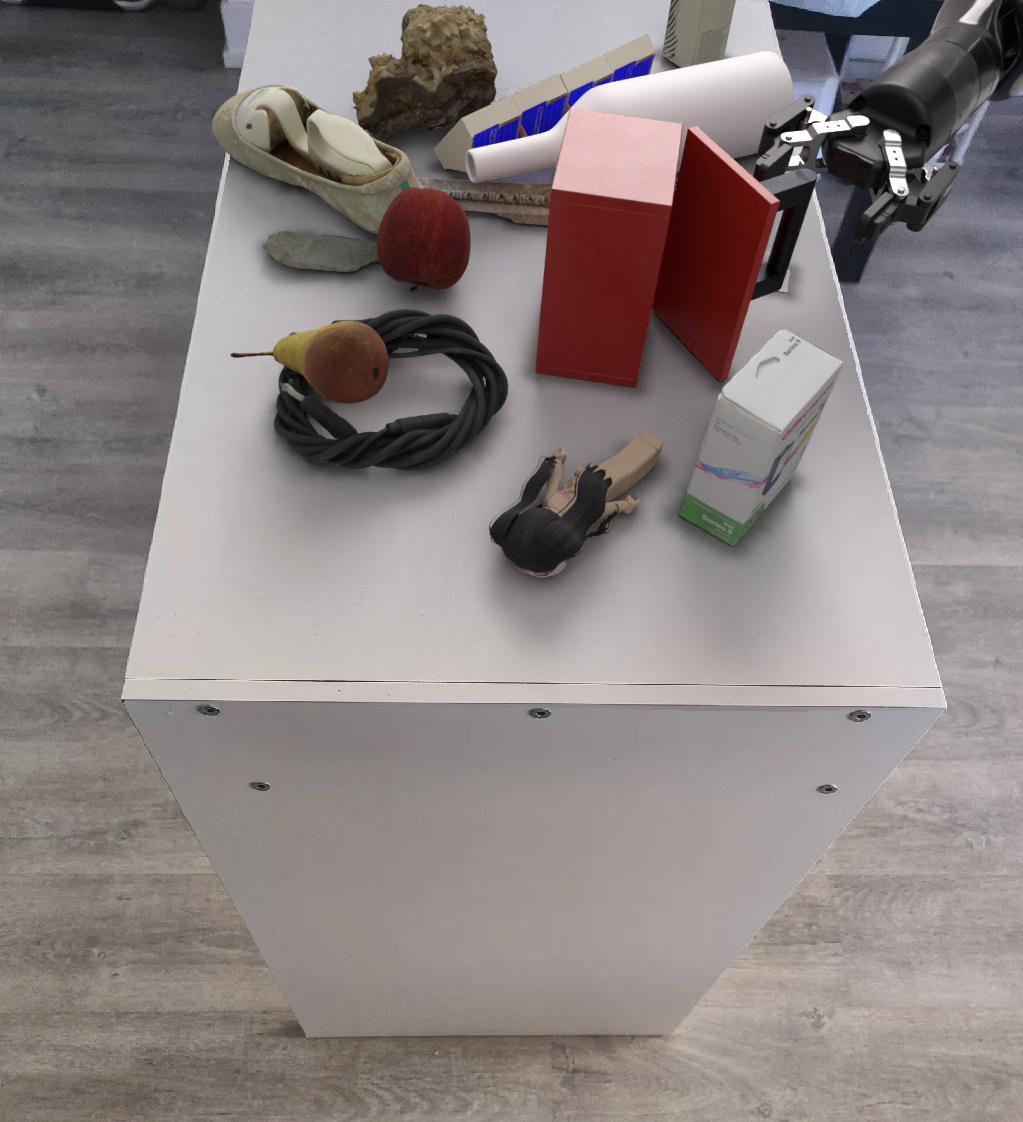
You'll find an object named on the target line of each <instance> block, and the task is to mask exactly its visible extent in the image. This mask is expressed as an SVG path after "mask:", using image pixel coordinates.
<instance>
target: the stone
mask: <svg viewBox="0 0 1023 1122" xmlns="http://www.w3.org/2000/svg"><path fill="white" fill-rule="evenodd" d="M262 249H264V251H266V252H267V253H268V254H269V255H271V257H272V258H273V259H274V260H275V261H276V262H278V263H280V264H283V265H286V266H287V267H290V268H295V269H300V270H320V271H326V272H339V273H350V272H358V271H359V270H360V269H361V268H362V267H366V266H368V265H370V264H373V263H380V262H379V259H378V253H377V240H376V241H375V240H372V239H368V238H358V237H350V236H343V235H336V234H335V235H334V234H312V233H311V234H310V233H299V232H295V231H289V230H283V231H278V233H277V232H274V233H272V234H269V235H268V238H267V241H265V242H264V243H263V244H262Z"/></svg>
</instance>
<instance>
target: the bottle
mask: <svg viewBox="0 0 1023 1122" xmlns="http://www.w3.org/2000/svg"><path fill="white" fill-rule="evenodd" d="M794 101H795V90H794V84H793V79H792V77H791V73H790V70H789V69H788V66H787V64H786V63H785V61H784V60H783V59H782V57H780V56H779V55H778V54H777V53H775V52H774V51H767V50H764V51H758V52H754V53H748V54H743V55H739V56H734V57H733V56H732V57H729V58H723V59H721V60H718V61H714V62H709V63H704V64H699V65H694V66H689V67H684V68H681V67H679V68H675V69H670V70H665V71H660V72H656V73H650V75H645V76H641V77H636V78H631V79H626V80H621V81H616V82H611V83H607V84H603V85H600V86H597V87H594V88H592V89H590V90H588V91H587V92H586V93H585V94H584V95H583V96H582V97H581V98H580V99H579V100H578V101H577V102H576V103H575V104H574V105H573V106H572V107H571V108H575V109H582V110H589V111H596V112H603V113H610V114H617V115H625V116H632V117H639V118H646V119H653V120H660V121H668V122H675V123H682V124H683V129H682V136H681V144H680V152H679V159H678V167H677V173H679V170H680V165H681V160H682V155H683V150H684V145H685V140H686V135H687V130H688V128H691V127H694V126H697V127H699V128H700V129H701V130H702V131H703V132H704V133H705V134H706V135H707V136H708V137H710V138H711V139H712V140H713V141H714V142H715V143H716V144H717V145H718V146H720V147H721V148H722V149H723V150H724V151H725V152H726V153H727V154H728V155H730V156H731V157H732V158H733V159H734V160H735V159H739V158H742V157H748V156H752V155H755V154H756V155H757V151H758V147H759V143H760V140H761V136H762V132H763V128H764V125H765V122H766V120H768V119H769V118H771V117H772V116H774V115H775V114H776V113H778V112H779V111H781V110H782V109H784V108H785V107H786V106H788V105H789V104H791V103H792V102H794ZM569 111H570V109H569V110H568V112H567V113H566V114H565V115H564V116H563V117H562V119H561V120H560V121H559V122H558V123H557V124H556V125H555V126H554V127H553V128H552V129H551V130H549V131H547V132H544V133H541V134H537V135H533V136H528V137H524V138H520V139H515V140H511V141H506V142H501V143H497V144H492V145H488V146H483V147H478V148H474V149H470V150H468V151H467V152H466V155H465V166H466V171H467V172H466V174H467V177H468V180H471V182H473V183H480V182H484V181H494V180H497V179H502V178H506V177H510V176H515V175H519V174H524V173H530V172H533V171H534V172H535V171H538V170H544V169H551V168H556V166H557V162H558V158H559V153H560V149H561V145H562V141H563V136H564V132H565V128H566V124H567V119H568V115H569Z"/></svg>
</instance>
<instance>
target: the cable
mask: <svg viewBox="0 0 1023 1122" xmlns="http://www.w3.org/2000/svg"><path fill="white" fill-rule="evenodd" d="M341 321H357V322H361V323H364V324H366V325H368V326H370V327H371V328H372V329H374V330H375V331H376V332H377V333H378V335H379V336H380V337H381V339H382V340H383V342H384V344H385V347H386V350H387V354H388V360H389V359H390V360H391V359H411V358H417V357H419V358H420V357H424V356H430V355H437V354H439V355H440V354H441V355H444V356H445V357H446V358H448V359H450V360H451V361H453V362H454V363H455V364H456V365H457V366H458V367H460V369H462V371H463V372H464V373H465V374H466V376H467V378H468V379H469V381H470V383H471V384H472V387H471V390H470V391H469V394H468V396H467V398H466V400H465V401H464V403H463V405H462V407H461V409H460V411H459V412H458V414H457V413H449V412H437V413H429V414H421V415H420V414H419V415H415V416H408V417H400V418H396V419H395V420H394V421H392V422H387V423H386V424H385V427H384V428H382V429H381V430H378V431H372V430H371V431H362V432H358V430H357V429H356V428H355V427H354V425H352V424H351V423H350V422H349V421H348V420H346V419H345V418H344V417H342V416H340V415H338V413H336V412H335V411H334V410H332V409H331V407H329V406H327V405H326V404H324V402H322V401H321V400H319V399H318V398H316V397H314V391H315V389H314V388H313V387H312V386H311V385H310V384H309V382H308V381H307V379H306V378H305V377H304V376H303V375H301V374H300V373H298V372H296V371H294V370H291V369H289V368H287V367H286V366H284V365H283V364H282V366H283V367H282V369H281V371H280V373H279V377H278V391H279V393H278V395H277V397H276V401H275V406H276V413H275V416H274V419H273V427H274V428H273V429H274V430H275V432H276V433H277V434H278V435H279V436H280V437H281V438H283V439H286V441H287V443H288V444H289V446H290V447H291V449H293V450H294V451H295V452H298V453H300V455H301V457H302V458H303V460H304V461H305V462H307V463H309V464H311V465H319V464H322V463H325V462H326V463H328V464H331V465H337V466H340V467H342V468H346V469H348V470H362V469H363V470H364V469H369V468H371V467H376V468H381V469H383V468H384V469H392V470H398V471H405V472H406V471H408V472H409V471H412V472H413V471H420V470H425V469H428V468H430V467H431V468H432V467H433V466H436V465H438V464H439V463H442V462H443V461H445V460H446V459H448V458H449V457H451V455H452V454H454V453H457V452H459V451H461V450H462V449H464V448H465V447H466V446H468V445H469V444H470V443H471V442H473V440H474V439H475V438H476V437H477V436H479V434H480V433H482V432H483V430H485V428H486V427H487V426H488V425H489V423H490V421H491V419H492V418H493V417H494V416H495V415H496V414H498V413H499V411H501V409H502V408H503V407H504V405H505V404H506V401H507V398H508V395H509V382H508V376H507V375H506V372H505V371H504V369H503V368H502V366H501V365H500V364H499V362H497V360H496V358H495V357H494V355H493V353H492V352H491V351H490V349H488V348H487V346H485V344H483V342H481V341H480V338H479V337H478V335H477V333H476V332H475V330H474V328H472V326H470V325H469V324H468V323H467V322H466V321H465V320H463V319H462V318H460V317H458V316H455V315H451V314H444V313H437V314H432V313H429V312H427V311H424V310H423V311H422V310H419V309H414V308H413V309H410V308H399V309H393V310H390V311H387V312H384V313H382V314H380V315H377V316H376V317H368V318H363V319H336V320H332V322H331V323H330V324H333V323H337V322H341ZM296 333H297V332H294V331H293V332H290V333H289V334H288V336H289V335H292V334H296ZM422 335H425V336H422ZM401 349H402V350H403V349H414V350H413V351H404V352H403V351H402V352H396V351H398V350H401ZM415 349H416V350H415ZM310 417H311V418H312V419H313V420H314V421H315V422H317V423H318V424H319V425H320V426H321V427H323V428H324V430H326V431H327V432H328V433H329V434H330V436H331V437H333V438H327V437H325V436H323V435H321V434H319V432H318V431H317V430H316V429H315V427H314V425H312V424H311V422H310Z"/></svg>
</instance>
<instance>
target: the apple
mask: <svg viewBox="0 0 1023 1122" xmlns="http://www.w3.org/2000/svg"><path fill="white" fill-rule="evenodd" d="M467 215H468V214H467V212H466V210H464V209H463V208H462V207H461V206H460V205H459V204H458V203H457V202H456V201H455V200H454V199H453V198H452V197H451V196H449V195H448V194H447V193H445V192H443V191H441V190H438V189H432V188H423V189H421V188H417V187H412V188H407V189H405V190H403V191H402V192H400V193H399V194H398V195H397V196H396V197H395V199H394V200H393V201H392V203H391V204H390V205H389V207H388V209H387V210H386V212H385V214H384V216H383V219H382V221H381V224H380V227H379V231H378V235H377V237H376V242H377V253H378V259H379V262H378V263H379V264H380V266H381V268H382V270H383V271H384V273H385V274H386V275H387V276H388V277H390V278H391V279H393V280H395V281H397V282H403V283H408V284H412V285H414V286H412V287H410V288H409V289H408V292H411V293H414V292H415V291H418V290H419V289H420V287H425V288H429V289H434V290H438V291H440V290H441V291H442V290H446V289H450V288H452V287H453V286H454V285H456V284H457V283H458V282H459V281H460V280H461V279H462V277H463V276H464V274H465V272H466V270H467V268H468V265H469V261H470V257H471V243H472V242H471V241H472V239H471V228H470V222H469V219H468V216H467Z"/></svg>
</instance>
